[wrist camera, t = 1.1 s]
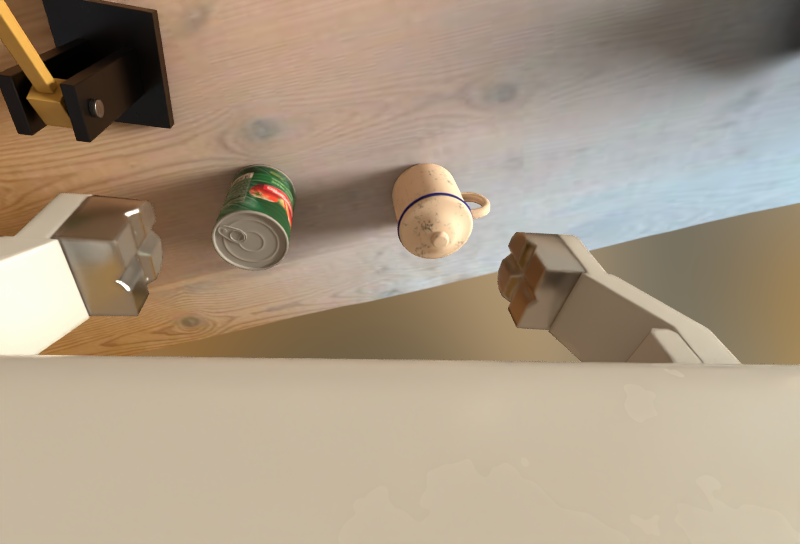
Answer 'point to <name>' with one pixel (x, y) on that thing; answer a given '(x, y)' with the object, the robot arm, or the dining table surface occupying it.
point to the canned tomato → (255, 219)
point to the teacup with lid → (433, 211)
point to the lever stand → (98, 69)
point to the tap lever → (34, 72)
